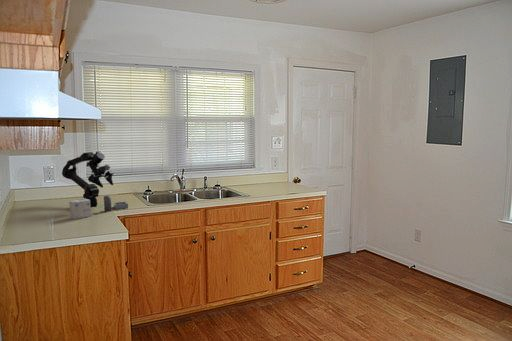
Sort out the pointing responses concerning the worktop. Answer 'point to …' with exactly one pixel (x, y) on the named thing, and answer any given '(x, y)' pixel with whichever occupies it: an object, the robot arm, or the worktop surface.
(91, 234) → the worktop surface
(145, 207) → the worktop surface
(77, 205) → the light bulb box
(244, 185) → the worktop surface
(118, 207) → the charging dock
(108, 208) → the charger
